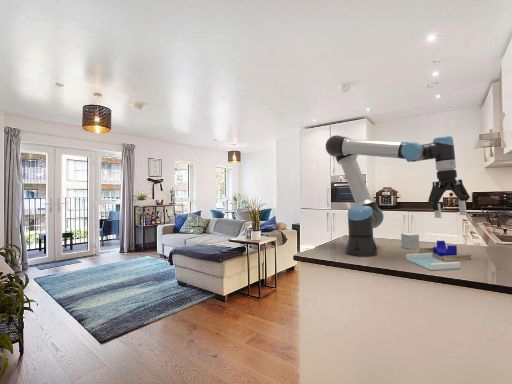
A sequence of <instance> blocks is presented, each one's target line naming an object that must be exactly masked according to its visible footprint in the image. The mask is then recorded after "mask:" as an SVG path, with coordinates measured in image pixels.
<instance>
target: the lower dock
mask: <svg viewBox="0 0 512 384" xmlns="http://www.w3.org/2000/svg"><path fill="white" fill-rule="evenodd" d="M405 260H406V261H408V262H410V263H413V264H414V265H417V266H420V267H422V268H423V269H426V270H428V271H448V270H449V271H450V270H461V262H460V261H452V262H451V261H448V262H447V261H443V260H440V259H438V258H435V257H434V252H426V253H420V252H419V253H407V254H405Z"/></svg>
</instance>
